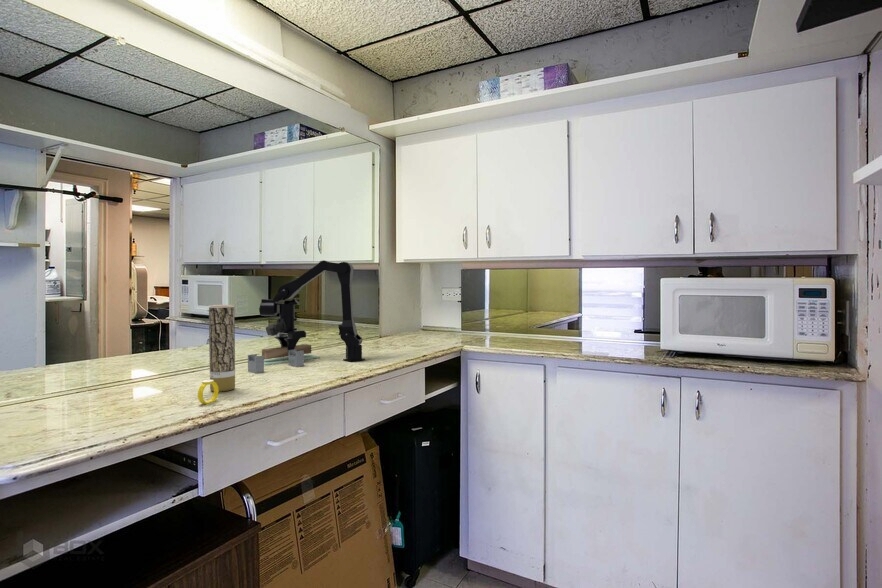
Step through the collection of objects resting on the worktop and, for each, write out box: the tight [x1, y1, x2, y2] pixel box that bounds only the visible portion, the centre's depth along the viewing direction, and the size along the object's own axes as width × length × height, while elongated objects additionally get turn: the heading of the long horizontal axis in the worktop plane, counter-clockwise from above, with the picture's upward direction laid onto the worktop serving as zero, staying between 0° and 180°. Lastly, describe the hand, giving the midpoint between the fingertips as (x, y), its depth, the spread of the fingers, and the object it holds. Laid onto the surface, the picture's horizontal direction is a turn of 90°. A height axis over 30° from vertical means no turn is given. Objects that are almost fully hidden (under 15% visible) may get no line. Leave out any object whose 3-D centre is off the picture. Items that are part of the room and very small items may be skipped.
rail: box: [261, 343, 312, 360], centre depth 190 cm, size 4×20×4 cm, turn 138°
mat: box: [264, 354, 320, 366], centre depth 190 cm, size 9×24×1 cm, turn 139°
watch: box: [197, 379, 219, 405], centre depth 124 cm, size 6×3×6 cm, turn 164°
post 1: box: [247, 353, 265, 374], centre depth 167 cm, size 6×3×6 cm, turn 49°
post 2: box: [287, 349, 305, 368], centre depth 179 cm, size 6×3×6 cm, turn 49°
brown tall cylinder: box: [208, 304, 236, 392], centre depth 139 cm, size 7×7×25 cm
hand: (287, 354), depth 190 cm, fingers closed on rail, 3 cm apart
